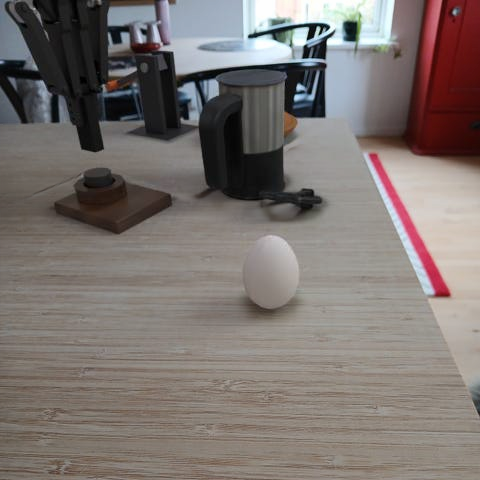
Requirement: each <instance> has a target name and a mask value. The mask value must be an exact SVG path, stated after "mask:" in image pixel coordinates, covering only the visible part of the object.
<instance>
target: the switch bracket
mask: <svg viewBox="0 0 480 480" xmlns="http://www.w3.org/2000/svg"><path fill="white" fill-rule="evenodd" d="M159 54H163V57H164V60H165V62H166V65H167V69H165V70H163V71H161V72H160V71H159V63H158V56H156V55H159ZM134 60H135V67H136V71H137V75H138V78H137V81H138V88H139V94H140V101H141V109H142V115H143V122H144V125H142V126H140V127H137V128H135V129H132V130H129V131H127V134H131V135H136V136H142V137H146V138H151V139H157V140H161V141H167V142H169V141H171V140H173V139H176V138H178V137H180V136H183V135H185V134H187V133H190V132H192V131H194V130H197V129H199V125H195V124H193V125H192V124H187V123H182V121H181V119H182V118H181V110H180V101H179V100H180V99H179V91H178V82H177V73H176V72H177V71H176V63H175V62H176V61H175V54H174V51H170V50H158V49H153V50H150V54H146V53H145V54H144V53H143V54H142V53H137V54H134Z"/></svg>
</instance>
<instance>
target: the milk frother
mask: <svg viewBox="0 0 480 480" xmlns="http://www.w3.org/2000/svg"><path fill="white" fill-rule="evenodd" d="M287 78H288V75H287V74H286V73H285V72H283V71H279V70H270V69H259V68H258V69H256V68H255V69H254V68H253V69H252V68H251V69H239V70H233V71H231V70H230V71H228V72H224V73H220V74H218V75H216V76H215V81H216V82H217V84H218V95H216V96H213V97H211V98H210V99H208V101H207V102H206V103H205V104H204V105H203V106H202V108H201V111H200V114H199V118H198V126H199V128H198V134H199V143H200V152H201V159H202V166H203V173H204V180H205V184H206V186H207V187H208V188H210V189H215V190H218V191H222V192H223V193H224V194H226V195H227V196H229V197H233V198H237V199H241V200H260V199H264V200H269V201H276V202H282V203H283V202H285V203H290V204H292V205H295V206H297V207H298V208H300V209H303V210H312V209H313V207H314V205H321V204H323V197H321V196H319V195H316V192H315V190H314V189H313V188H307V187H305V188H304V187H302V188H301V189H300V190H298V191H297V192H287V191H284V190H285V188H286V182H285V172H284V170H285V169H284V142H283V140H284V111H285V83H286V82H285V81H286V80H287Z"/></svg>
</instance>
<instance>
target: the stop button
mask: <svg viewBox="0 0 480 480" xmlns="http://www.w3.org/2000/svg"><path fill="white" fill-rule="evenodd" d="M112 173H113V172H112V170H111V168H108V167H103V166H102V167H101V166H100V167H93V168H89V169H87V170H85V171H84V172H83V178H84V180H85V184H86V187H87V188H102V187H107V186H109V185H112V184H113V178H112Z"/></svg>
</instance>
